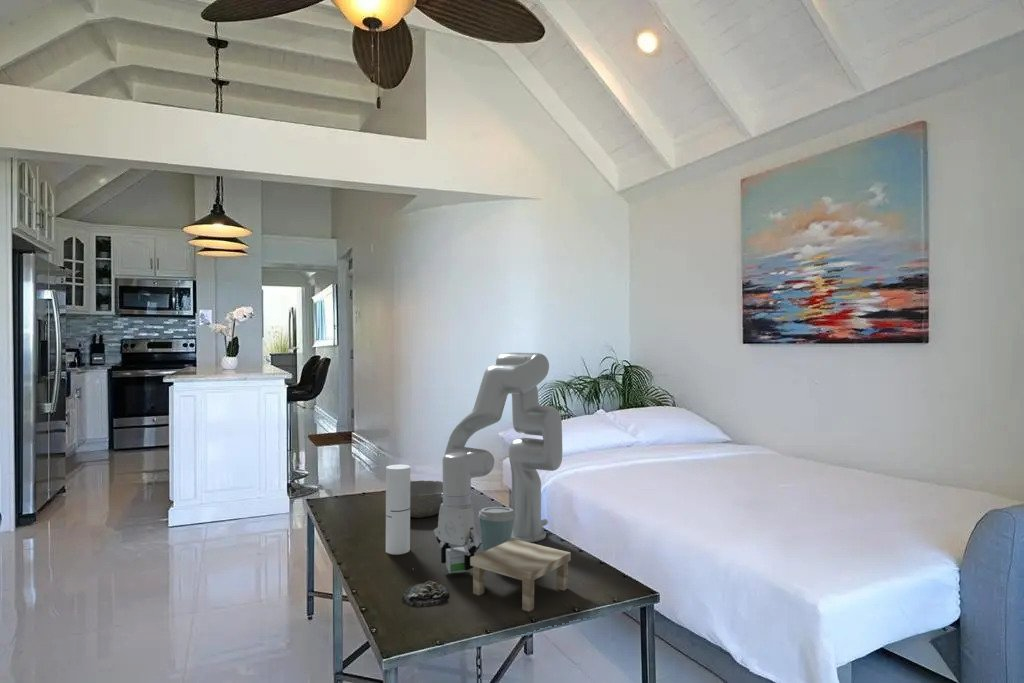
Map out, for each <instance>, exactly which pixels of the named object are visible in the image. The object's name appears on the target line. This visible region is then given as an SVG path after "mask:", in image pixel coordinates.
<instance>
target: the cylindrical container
mask: <svg viewBox="0 0 1024 683" xmlns="http://www.w3.org/2000/svg"><path fill="white" fill-rule="evenodd" d="M385 470H386V471H385V553H387V554H389V555H394V556H395V555H403V554H406V553H409V552H410V551H411V516H410V482H411V465H408V464H391V465H387V466H385Z"/></svg>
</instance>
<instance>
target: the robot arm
mask: <svg viewBox="0 0 1024 683" xmlns="http://www.w3.org/2000/svg"><path fill="white" fill-rule="evenodd" d="M549 362H550V361H549V360H548V358H547V356H546V355H544V354H543V353H540V352H505V353H501V354H499V355H498V356H497V357H496V360H495V364H493V365H490V366H488V367H487V368H486V369H485V371H484V373H483V376H482V380H481V383H480V386H479V389H478V393H477V396H476V400H475V403H474V405H473V408H472V410H471V412H470V413H468V414H467V415H466V416H465V417H464V418H463V419H461V421H460V422H459V423H457V425H456V426H455V428H454V429H453V430H452V431H451V433H450V435H449V439H448V442H447V445H446V449H445V452H444V455H443V458H442V482H443V493H442V494H441V497H442V498H443V503H442V504H441V506H440V511H439V512H438V518H437V520H438V521H437V526H436V528H434V529H433V534H434V536H435V538H436V541H437V543H438V547H439V549H440V554H441V555H440V557H441V558H440V560H441V561H440V563H442V564H446V549H448V548H452V547H451V545H453V546H456V547H464V550H465V552H466V554H467V555H465V556H464V565H465V570H469V569H470V570H471V569H473V566H471V565H470V557H472V556H474V555H475V554H476V553H477V551H478V550H479V549H480V547H481V546H482V537H480V536H479V535H478V534H477V533H476V520H475V519H476V518H475V513H474V507H473V505H472V481H471V479H472V478H474V479H475V478H483V477H486V476H487V475H489V474H490V473H491V472H492V471H493V468H494V466H495V458H494V455H493V453H491V451H489V450H486V449H483V448H474V447H468V446H467V447H466V445H467V442H468V441H469V439H470V438H471V437H472V436H473V435H474V434H475V433H477V432H478V431H480V430H482V429H485V428H487V427H490V426H492V425H494V424H496V423H498V422H499V421H500V420H502V415H503V412H504V409H505V405H506V401H507V399H508V396H509V394H510V395H511V406H512V407H511V408H512V409H511V411H512V427H513V429H514V431H515V432H516V433H518V434H521V435H529V436H540V437H542V439H541V438H539V439H538V438H532V437H519V438H516V439H514V440H513V441H512V442H511V443H509V447H508V460H509V464H510V472H511V509H513V510H514V513H515V517H516V518H514V523H513V529H512V535H511V540H512V539H516V540H521V541H525V542H529V543H535V542H541V541H543V540H544V539H546V537H547V536H546V535H547V534H546V531H545V530H543V527H544V526H546V525H548V524H549V523H548V522H549V521H548V519H547V518H543V519H542V480H541V477H540V475H539V473H538V471H547V472H552V471H553V472H554V471H556V470H558V469H559V468H560V467H561V465H562V462H563V425H562V423H563V422H562V420H563V419H562V417H561V416H562V415H561V413H560V411H559V410H558V409H557V408H556V407H554V406H552V405H551V406H550V405H540V402H539V389H538V385H539V384H541V383H542V382H543V381H544V380H545V379H546V377H547V376H548V374H549V369H550V363H549ZM537 470H538V471H537Z"/></svg>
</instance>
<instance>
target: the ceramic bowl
mask: <svg viewBox="0 0 1024 683" xmlns="http://www.w3.org/2000/svg"><path fill="white" fill-rule="evenodd" d="M442 493H443V481H441V480H413V481H412V480H410V518H411V517H412V518H416V519H417V518H418V519H419V518H421V519H422V518H426V517H431V516H435V515H436V514H439V511H440V506H441V504H442V503H443V498H442V497H441V494H442Z"/></svg>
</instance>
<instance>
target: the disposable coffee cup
mask: <svg viewBox="0 0 1024 683" xmlns="http://www.w3.org/2000/svg"><path fill="white" fill-rule="evenodd" d="M478 518H479V524H480V525H479V526H480V533H481V534H480V535H481V540H482V544H481V546H482V552H484V551H486V550H489V549H491V548H493V547H496V546H498V545H500V544H503V543H505V542H507V541H510V540H511V535H512V529H513V523H514V518H516V517H515V513H514V510H513V509H512V507H505V506H489V507H488V506H487V507H484V508H481V509H480V510H479V511H478Z"/></svg>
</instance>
